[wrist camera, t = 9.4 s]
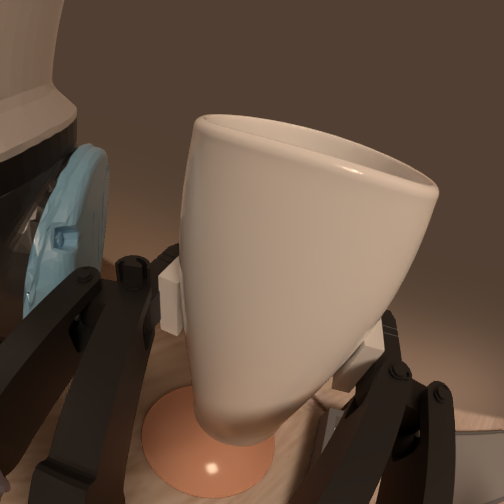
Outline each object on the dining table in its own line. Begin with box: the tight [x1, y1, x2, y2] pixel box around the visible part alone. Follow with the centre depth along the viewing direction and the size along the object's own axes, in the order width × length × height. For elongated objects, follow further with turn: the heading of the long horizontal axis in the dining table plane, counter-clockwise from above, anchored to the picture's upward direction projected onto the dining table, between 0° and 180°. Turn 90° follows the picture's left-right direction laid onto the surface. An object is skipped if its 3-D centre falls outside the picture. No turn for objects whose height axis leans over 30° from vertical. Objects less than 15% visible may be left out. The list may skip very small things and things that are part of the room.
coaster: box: [141, 385, 275, 498], centre depth 20 cm, size 12×12×1 cm
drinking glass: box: [179, 114, 439, 447], centre depth 10 cm, size 7×7×15 cm
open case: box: [307, 408, 504, 504], centre depth 15 cm, size 33×13×2 cm, turn 73°
